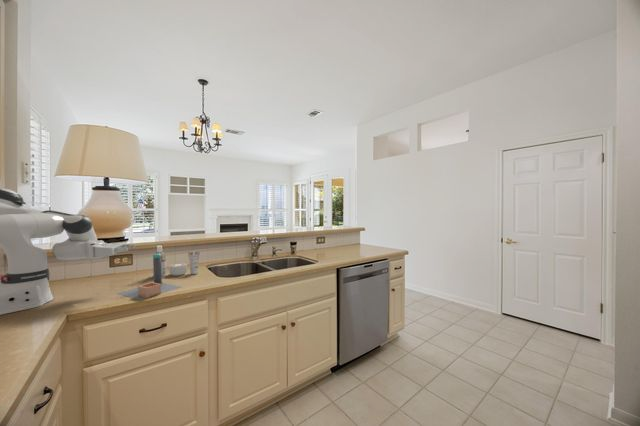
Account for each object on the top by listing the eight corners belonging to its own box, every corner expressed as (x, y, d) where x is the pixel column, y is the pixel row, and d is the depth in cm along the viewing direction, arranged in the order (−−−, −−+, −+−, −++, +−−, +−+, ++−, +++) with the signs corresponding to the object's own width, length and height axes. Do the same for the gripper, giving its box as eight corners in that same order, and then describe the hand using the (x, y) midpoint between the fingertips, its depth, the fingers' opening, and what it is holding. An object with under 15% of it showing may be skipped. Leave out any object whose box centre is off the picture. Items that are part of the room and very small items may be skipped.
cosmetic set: (200, 271, 162) (200, 242, 162) (200, 275, 154) (199, 244, 153) (155, 275, 152) (154, 245, 151) (151, 279, 144) (151, 247, 143)
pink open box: (146, 297, 113) (146, 288, 113) (138, 295, 116) (137, 286, 116) (161, 293, 119) (161, 284, 119) (152, 291, 122) (152, 282, 121)
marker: (156, 286, 130) (155, 255, 129) (151, 284, 131) (151, 254, 131) (163, 283, 133) (163, 254, 133) (159, 283, 135) (158, 253, 134)
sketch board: (140, 301, 110) (140, 300, 110) (116, 295, 118) (116, 293, 118) (182, 288, 128) (182, 286, 128) (159, 283, 137) (159, 282, 136)
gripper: (106, 252, 132) (138, 250, 137) (87, 259, 113) (124, 257, 118) (106, 240, 132) (137, 238, 137) (86, 246, 113) (123, 244, 118)
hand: (131, 247), depth 127 cm, fingers open, 8 cm apart
